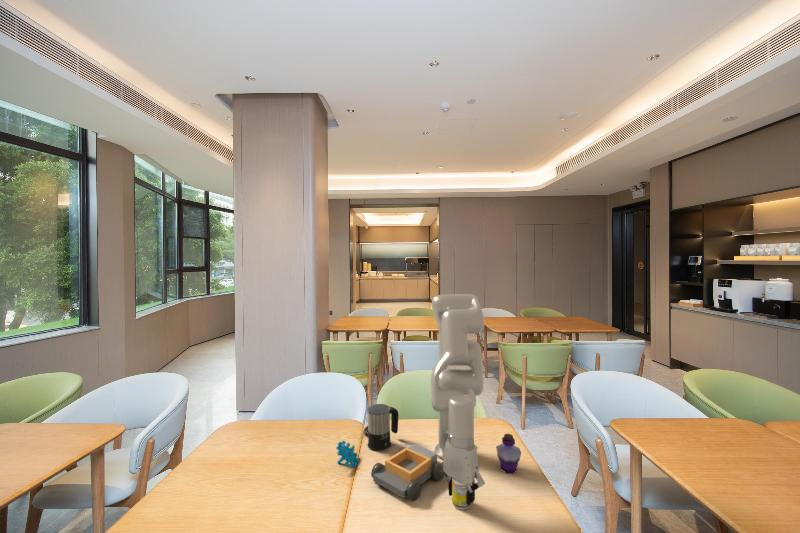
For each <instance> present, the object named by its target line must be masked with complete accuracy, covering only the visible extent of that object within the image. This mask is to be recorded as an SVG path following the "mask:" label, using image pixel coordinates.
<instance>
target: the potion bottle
mask: <svg viewBox="0 0 800 533" xmlns="http://www.w3.org/2000/svg"><path fill="white" fill-rule="evenodd" d="M496 452H497V453H496V455H497V458H498V460H499V464H500V467H501V468H500V470H501V469H502V470H503V471H505V472H506V473H505V472H504V473H505V474H508V473H513V472H515V471H517V468H518V465H519V462H520V459H521V455H522V450H521V449H520V447H518V446H516V440H515V437H514V435H513V434H512V433H505V434H503V437H501V443H500V444H499V445H497V446H496ZM503 471H502V472H503ZM515 473H516V472H515ZM513 474H514V473H513Z"/></svg>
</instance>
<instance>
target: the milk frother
mask: <svg viewBox="0 0 800 533" xmlns="http://www.w3.org/2000/svg"><path fill="white" fill-rule="evenodd" d="M366 411H367V426H366V427H365V428H364V430H363V435H365V436H366V437H367V438H368V440H367V441H368V442H367V447H368V449H369V450H372V451H375V452H380V451H381V452H383V451H385V450H388V449H390V447H391V445H392V442H391V432H392V433H394V434H397V433H398V430H399V411H398V410H397V409H396V408H395V407H392V406H390V405H387V404H384V403H375V404H372V405H369V406H368V407H367V408H366ZM390 414H391V416H390ZM390 417H391V418H390ZM390 421H391V423H390Z"/></svg>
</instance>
